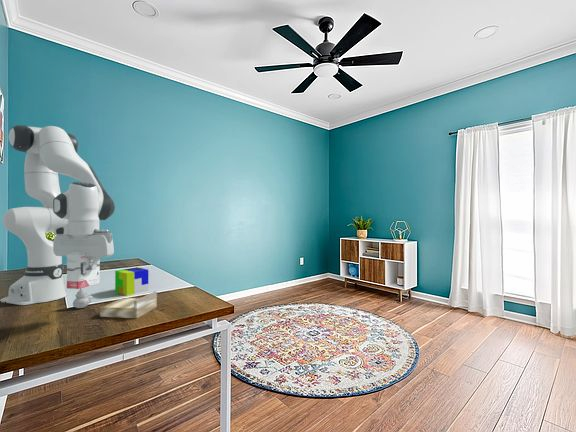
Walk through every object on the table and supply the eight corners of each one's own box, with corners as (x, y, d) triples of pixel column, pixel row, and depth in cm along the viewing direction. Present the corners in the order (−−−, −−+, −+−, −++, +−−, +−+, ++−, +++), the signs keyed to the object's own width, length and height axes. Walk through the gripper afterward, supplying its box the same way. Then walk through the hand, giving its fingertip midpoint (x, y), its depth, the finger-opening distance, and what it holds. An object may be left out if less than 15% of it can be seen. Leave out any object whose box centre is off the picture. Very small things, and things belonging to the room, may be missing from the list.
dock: (99, 316, 99) (99, 299, 99) (123, 305, 111) (123, 290, 111) (136, 318, 98) (136, 301, 98) (156, 306, 110) (156, 291, 110)
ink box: (78, 289, 92) (77, 253, 92) (66, 288, 93) (65, 253, 93) (101, 283, 100) (100, 249, 100) (89, 282, 101) (88, 249, 101)
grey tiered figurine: (69, 308, 107) (69, 287, 107) (88, 303, 113) (88, 284, 113) (77, 311, 105) (77, 289, 105) (96, 306, 111) (96, 285, 110)
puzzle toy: (148, 290, 133) (148, 269, 133) (126, 295, 124) (126, 273, 124) (136, 287, 138) (136, 267, 138) (115, 292, 130) (115, 270, 130)
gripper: (118, 229, 98) (118, 268, 98) (66, 228, 101) (66, 266, 101) (104, 230, 92) (104, 272, 92) (49, 229, 95) (49, 270, 95)
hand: (84, 269), depth 97 cm, fingers closed on ink box, 5 cm apart
